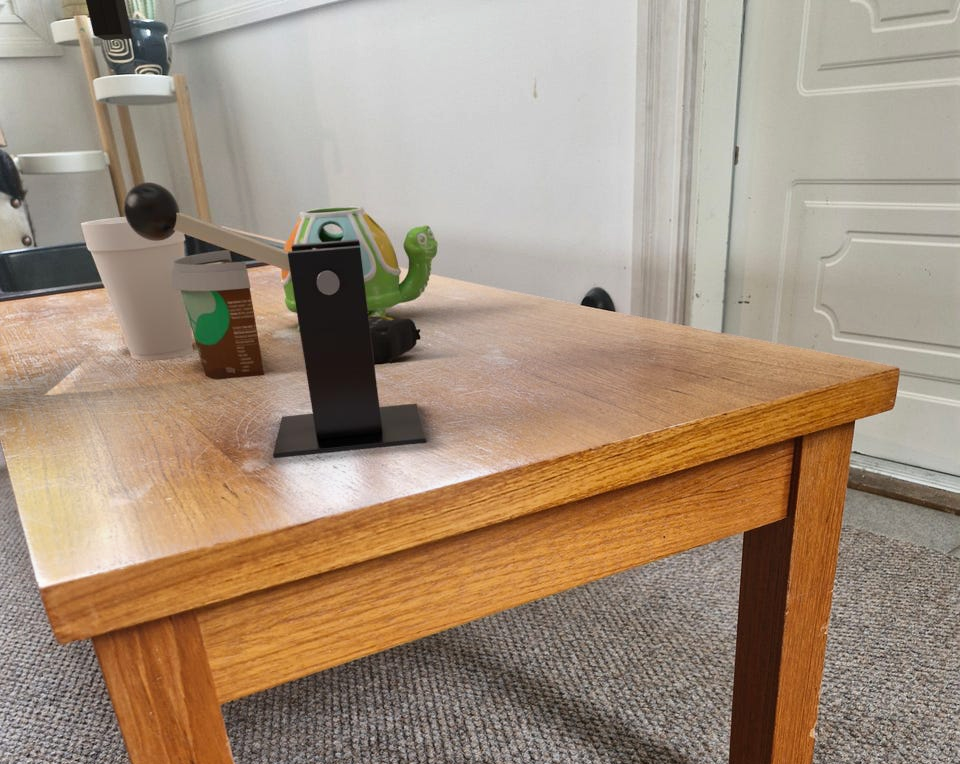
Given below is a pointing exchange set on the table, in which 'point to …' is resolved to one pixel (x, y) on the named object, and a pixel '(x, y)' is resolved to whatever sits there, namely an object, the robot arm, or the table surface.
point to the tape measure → (392, 337)
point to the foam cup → (141, 287)
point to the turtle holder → (368, 255)
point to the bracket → (339, 360)
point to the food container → (220, 313)
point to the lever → (190, 225)
